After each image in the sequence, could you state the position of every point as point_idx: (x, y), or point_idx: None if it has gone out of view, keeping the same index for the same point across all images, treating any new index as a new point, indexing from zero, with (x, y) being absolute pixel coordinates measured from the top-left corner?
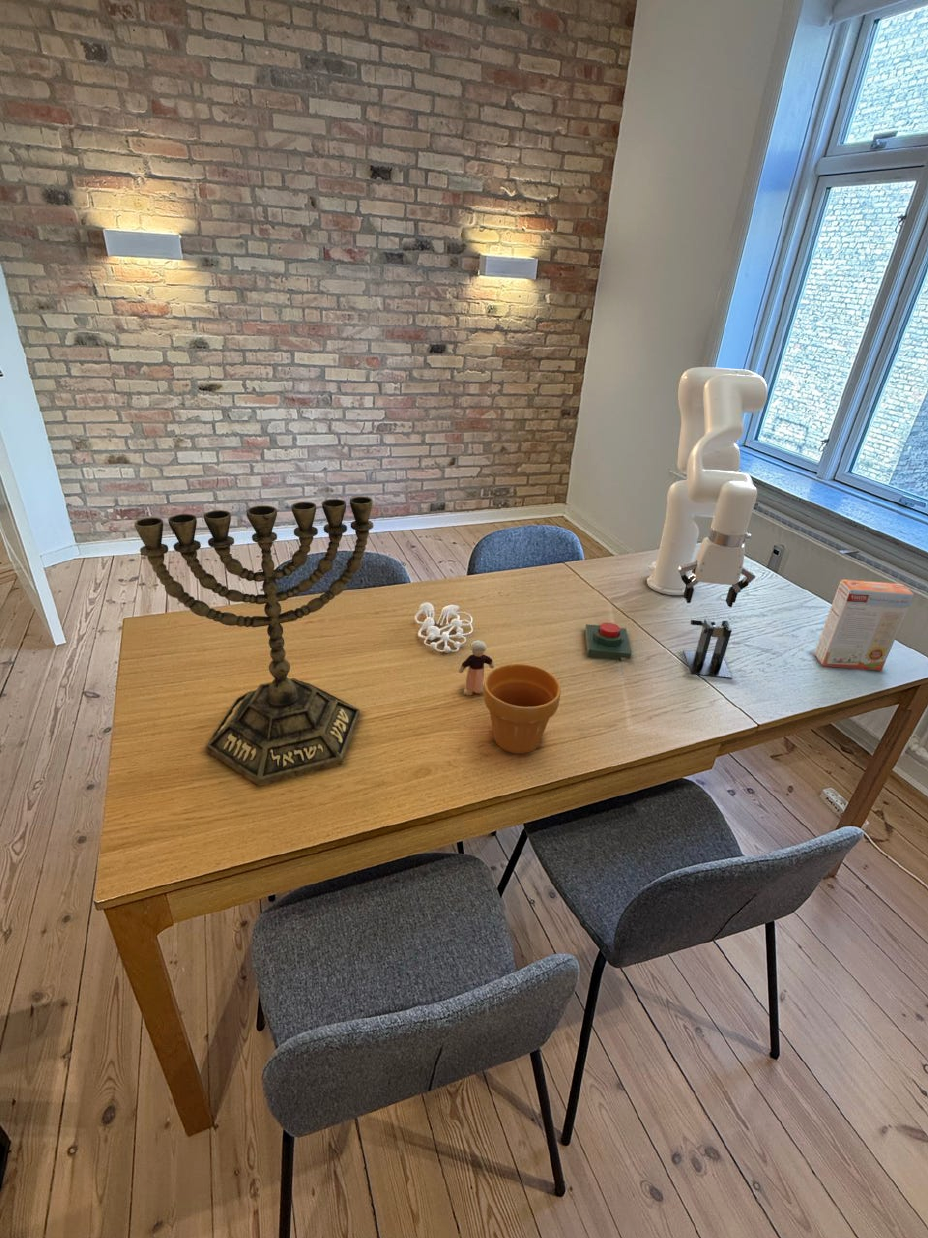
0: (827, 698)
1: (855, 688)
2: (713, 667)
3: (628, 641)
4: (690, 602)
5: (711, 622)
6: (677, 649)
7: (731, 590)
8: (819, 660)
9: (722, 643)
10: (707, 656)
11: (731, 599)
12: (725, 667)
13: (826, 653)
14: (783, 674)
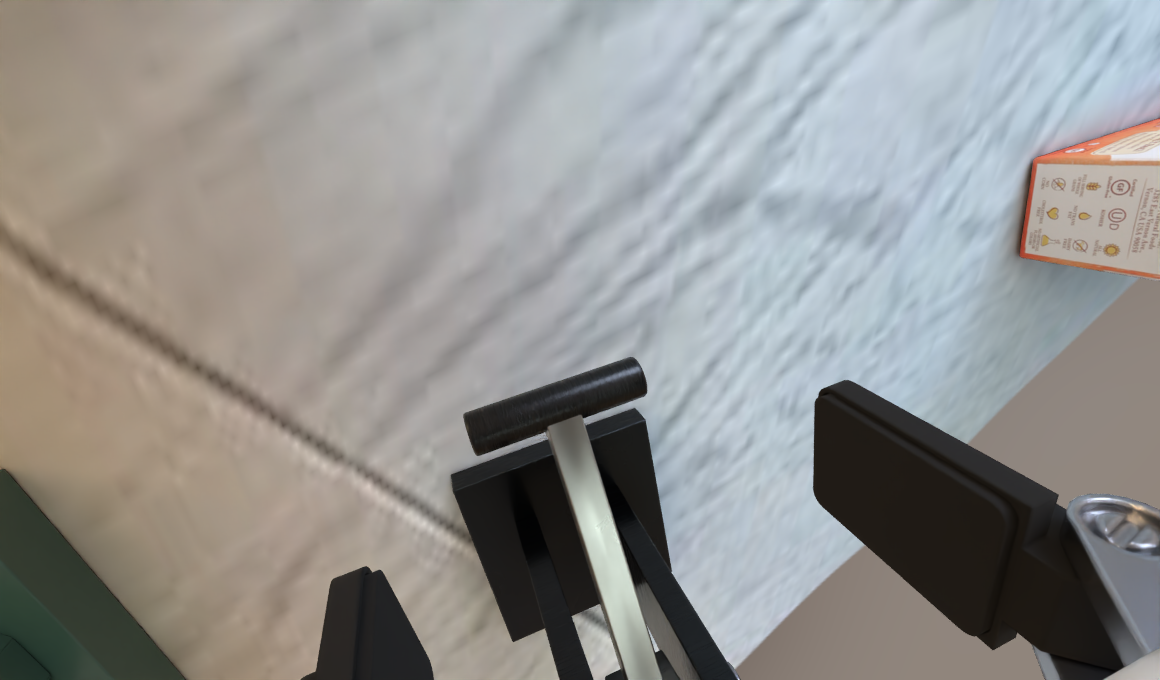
0: None
1: (1044, 356)
2: None
3: (80, 650)
4: (432, 674)
5: (622, 402)
6: (415, 439)
7: (992, 589)
8: (1029, 224)
9: None
10: None
11: (895, 558)
12: (653, 519)
13: (1091, 267)
14: None
